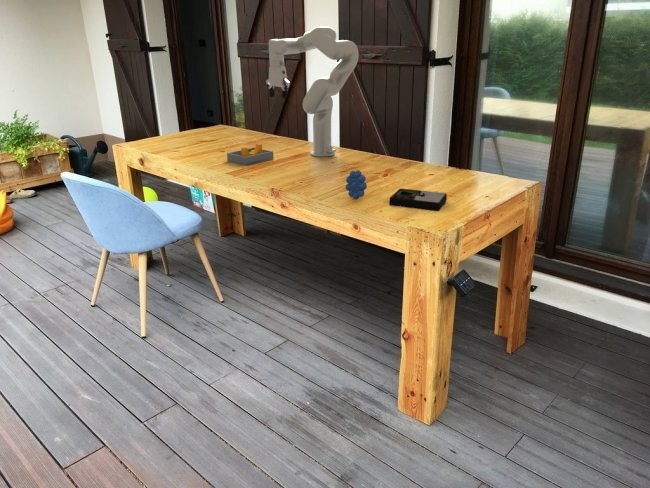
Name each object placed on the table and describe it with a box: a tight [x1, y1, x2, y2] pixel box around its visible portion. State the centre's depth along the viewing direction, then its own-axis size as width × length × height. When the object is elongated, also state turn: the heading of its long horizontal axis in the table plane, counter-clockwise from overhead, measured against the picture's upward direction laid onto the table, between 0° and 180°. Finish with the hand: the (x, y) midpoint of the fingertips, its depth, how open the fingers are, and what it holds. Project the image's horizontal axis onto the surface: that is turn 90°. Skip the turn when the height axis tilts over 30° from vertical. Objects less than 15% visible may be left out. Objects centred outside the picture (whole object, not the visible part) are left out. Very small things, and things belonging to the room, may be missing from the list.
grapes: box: [345, 169, 368, 200], centre depth 207 cm, size 12×7×12 cm, turn 37°
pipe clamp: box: [240, 143, 263, 157], centre depth 270 cm, size 12×4×6 cm, turn 141°
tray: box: [226, 146, 274, 166], centre depth 271 cm, size 15×18×4 cm
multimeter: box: [388, 188, 448, 212], centre depth 202 cm, size 13×19×5 cm
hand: (278, 97), depth 286 cm, fingers open, 9 cm apart
